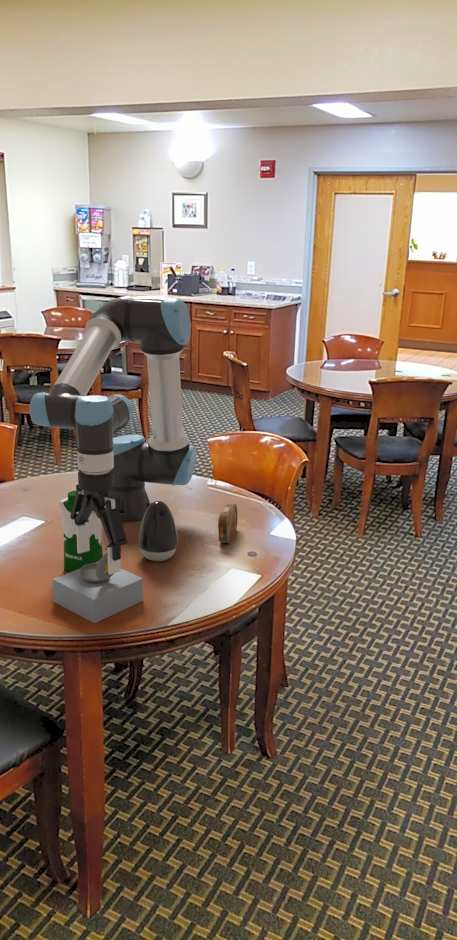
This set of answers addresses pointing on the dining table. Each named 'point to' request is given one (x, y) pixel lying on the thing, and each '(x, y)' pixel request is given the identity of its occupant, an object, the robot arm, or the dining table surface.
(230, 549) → the dining table surface
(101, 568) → the pocket watch
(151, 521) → the black glossy egg shape
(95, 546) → the milk carton
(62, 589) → the base block
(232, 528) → the tin
